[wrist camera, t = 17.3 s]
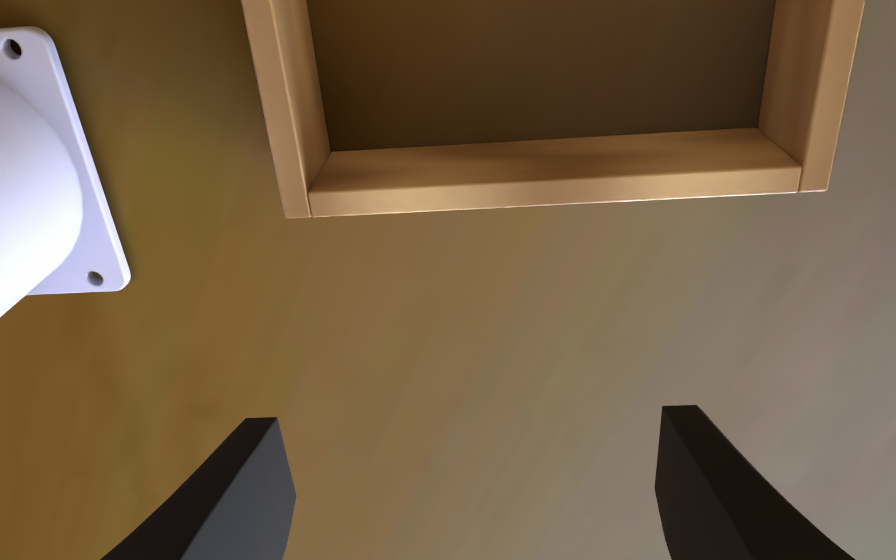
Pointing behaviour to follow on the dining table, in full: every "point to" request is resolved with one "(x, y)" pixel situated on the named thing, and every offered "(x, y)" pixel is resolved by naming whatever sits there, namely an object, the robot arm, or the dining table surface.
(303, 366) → the dining table surface
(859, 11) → the birch box
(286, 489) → the robot arm
